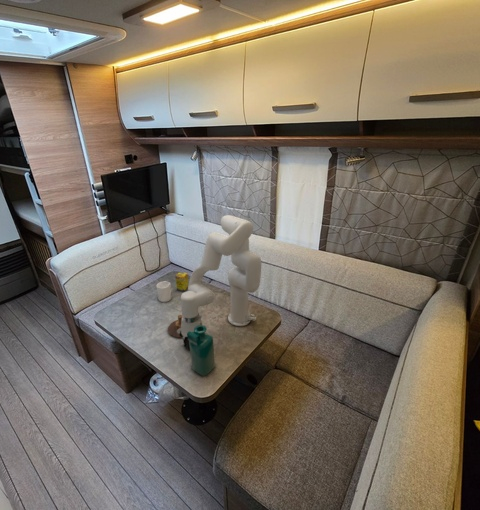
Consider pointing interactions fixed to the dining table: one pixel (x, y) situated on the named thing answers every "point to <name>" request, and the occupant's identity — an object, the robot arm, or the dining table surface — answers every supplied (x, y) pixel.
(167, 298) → the mug
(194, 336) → the green bottle
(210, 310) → the dining table surface
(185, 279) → the supplement box
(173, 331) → the stand
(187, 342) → the tape roll
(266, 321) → the dining table surface
